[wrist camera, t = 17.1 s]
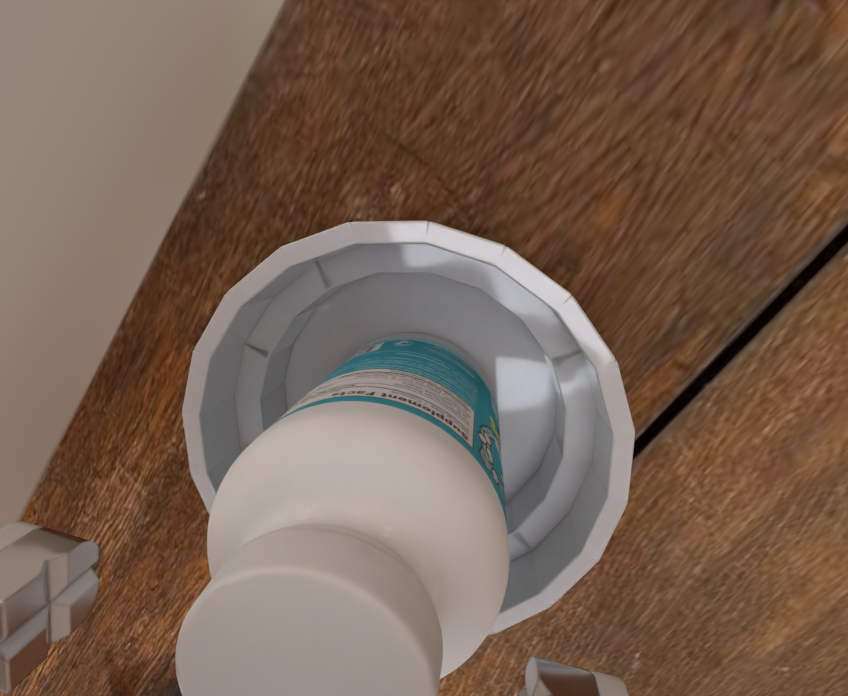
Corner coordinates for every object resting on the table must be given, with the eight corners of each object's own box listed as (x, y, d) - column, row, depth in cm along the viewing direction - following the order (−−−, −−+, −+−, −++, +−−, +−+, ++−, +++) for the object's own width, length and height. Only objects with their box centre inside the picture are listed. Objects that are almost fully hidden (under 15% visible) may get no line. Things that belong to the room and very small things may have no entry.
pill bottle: (458, 507, 22) (415, 912, 9) (315, 444, 22) (65, 746, 9) (527, 368, 20) (604, 624, 7) (369, 300, 20) (148, 420, 7)
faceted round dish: (201, 425, 23) (116, 481, 18) (372, 146, 19) (328, 112, 14) (453, 605, 24) (444, 711, 19) (675, 372, 20) (744, 422, 14)
